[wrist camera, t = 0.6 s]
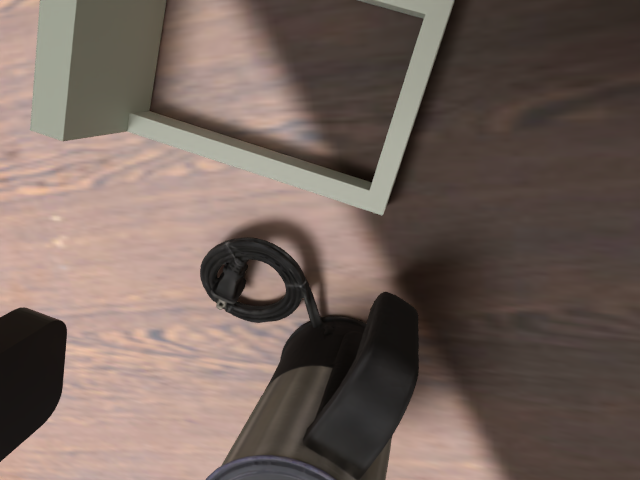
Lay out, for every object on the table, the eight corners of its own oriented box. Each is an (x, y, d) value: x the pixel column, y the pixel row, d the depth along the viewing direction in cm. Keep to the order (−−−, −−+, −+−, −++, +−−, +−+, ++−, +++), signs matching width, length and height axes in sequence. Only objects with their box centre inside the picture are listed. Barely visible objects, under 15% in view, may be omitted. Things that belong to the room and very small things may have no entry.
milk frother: (386, 443, 39) (355, 645, 25) (193, 379, 41) (66, 531, 27) (440, 273, 34) (439, 403, 20) (218, 211, 36) (81, 291, 22)
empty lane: (147, -81, 31) (50, -135, 23) (454, 2, 29) (459, -28, 21) (120, 119, 36) (30, 130, 28) (386, 206, 33) (369, 244, 25)
